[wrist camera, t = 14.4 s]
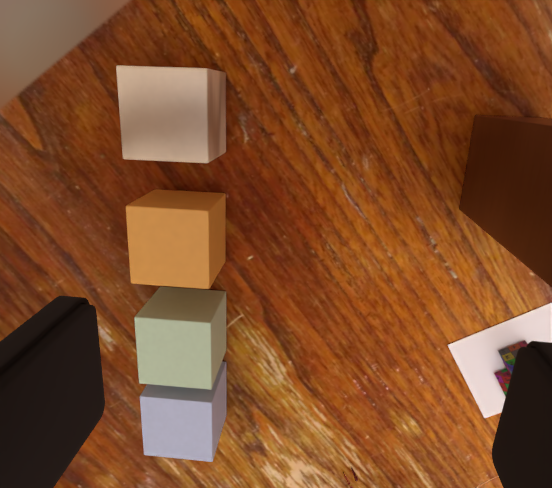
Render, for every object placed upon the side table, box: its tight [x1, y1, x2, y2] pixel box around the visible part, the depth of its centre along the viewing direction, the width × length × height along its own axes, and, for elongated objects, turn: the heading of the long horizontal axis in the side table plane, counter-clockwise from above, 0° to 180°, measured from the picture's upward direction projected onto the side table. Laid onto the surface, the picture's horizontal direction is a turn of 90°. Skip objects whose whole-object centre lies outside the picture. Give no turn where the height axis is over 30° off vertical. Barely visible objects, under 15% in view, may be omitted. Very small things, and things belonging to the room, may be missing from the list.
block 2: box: [134, 286, 226, 390], centre depth 32 cm, size 5×5×5 cm
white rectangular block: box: [448, 303, 552, 418], centre depth 32 cm, size 7×8×2 cm
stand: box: [459, 115, 552, 287], centre depth 22 cm, size 6×4×14 cm, turn 178°
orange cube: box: [126, 189, 226, 289], centre depth 30 cm, size 5×5×5 cm
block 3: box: [140, 362, 226, 462], centre depth 34 cm, size 5×5×5 cm
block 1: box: [116, 65, 226, 163], centre depth 27 cm, size 5×5×5 cm
